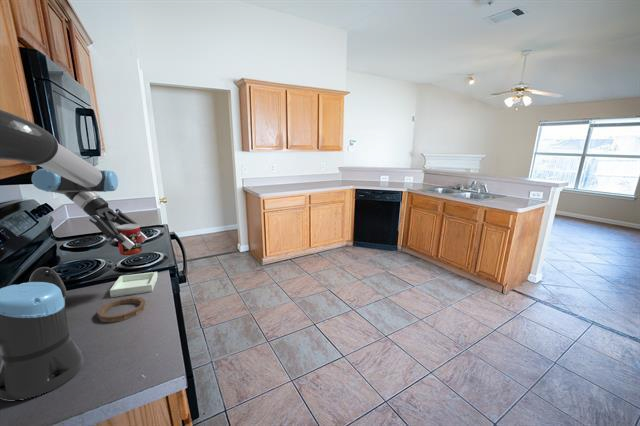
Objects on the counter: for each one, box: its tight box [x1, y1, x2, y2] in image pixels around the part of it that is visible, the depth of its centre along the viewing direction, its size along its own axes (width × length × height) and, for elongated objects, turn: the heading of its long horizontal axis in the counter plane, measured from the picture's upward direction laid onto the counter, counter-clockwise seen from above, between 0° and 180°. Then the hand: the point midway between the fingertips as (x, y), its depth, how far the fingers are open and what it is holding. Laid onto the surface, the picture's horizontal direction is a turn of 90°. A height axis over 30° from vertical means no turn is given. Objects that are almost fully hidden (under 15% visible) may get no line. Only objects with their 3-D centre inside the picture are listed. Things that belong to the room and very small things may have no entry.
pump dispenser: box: [28, 266, 67, 300], centre depth 98 cm, size 10×10×15 cm
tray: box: [109, 271, 159, 298], centre depth 115 cm, size 14×14×3 cm
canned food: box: [115, 223, 143, 256], centre depth 110 cm, size 8×8×11 cm
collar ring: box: [96, 296, 147, 323], centre depth 97 cm, size 13×13×2 cm
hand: (138, 243), depth 111 cm, fingers closed on canned food, 8 cm apart
